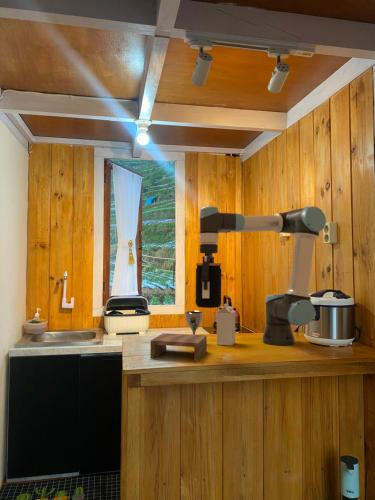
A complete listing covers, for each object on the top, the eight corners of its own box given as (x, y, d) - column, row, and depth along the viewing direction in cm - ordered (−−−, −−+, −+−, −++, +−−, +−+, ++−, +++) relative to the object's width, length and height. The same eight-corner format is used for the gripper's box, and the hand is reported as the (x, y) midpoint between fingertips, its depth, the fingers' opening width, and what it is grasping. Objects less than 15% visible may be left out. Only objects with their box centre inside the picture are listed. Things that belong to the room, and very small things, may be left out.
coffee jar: (223, 305, 157) (223, 263, 158) (217, 308, 147) (218, 263, 148) (199, 304, 161) (199, 263, 161) (192, 307, 151) (192, 262, 151)
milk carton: (216, 344, 174) (216, 304, 175) (221, 341, 181) (221, 302, 182) (231, 346, 172) (231, 304, 172) (235, 343, 178) (235, 303, 179)
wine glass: (202, 341, 181) (202, 311, 181) (201, 345, 173) (201, 313, 173) (186, 341, 182) (186, 310, 182) (184, 345, 174) (184, 313, 174)
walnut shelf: (206, 351, 161) (206, 335, 162) (198, 361, 146) (198, 343, 146) (162, 348, 166) (162, 333, 167) (150, 357, 151) (150, 340, 151)
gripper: (205, 245, 167) (204, 294, 166) (193, 242, 145) (193, 299, 144) (221, 245, 165) (221, 294, 165) (213, 242, 143) (212, 299, 142)
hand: (208, 296), depth 154 cm, fingers closed on coffee jar, 11 cm apart
